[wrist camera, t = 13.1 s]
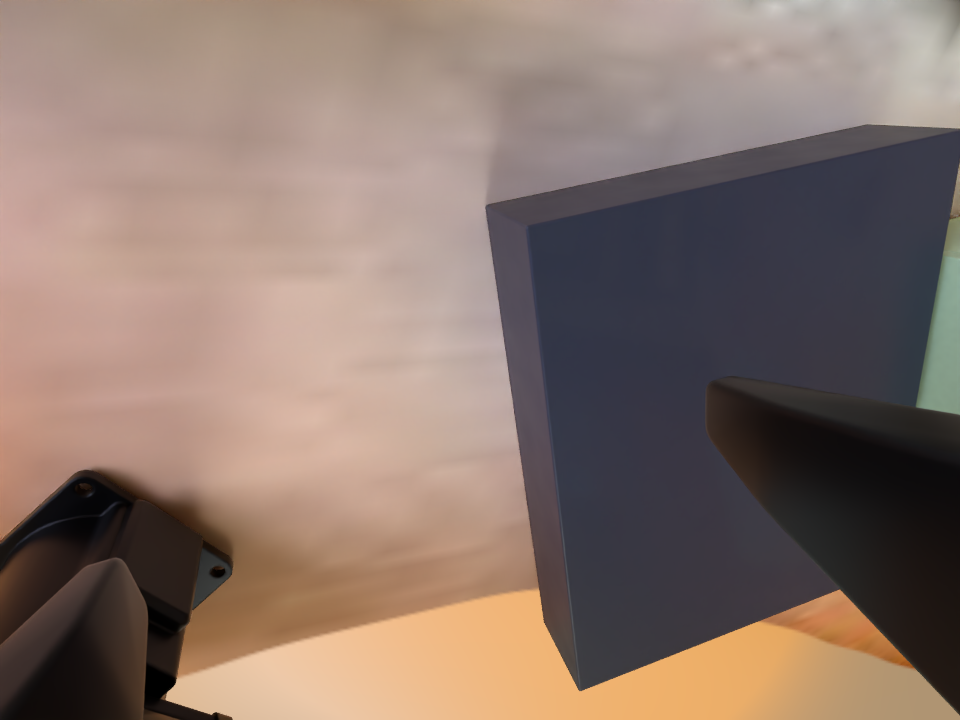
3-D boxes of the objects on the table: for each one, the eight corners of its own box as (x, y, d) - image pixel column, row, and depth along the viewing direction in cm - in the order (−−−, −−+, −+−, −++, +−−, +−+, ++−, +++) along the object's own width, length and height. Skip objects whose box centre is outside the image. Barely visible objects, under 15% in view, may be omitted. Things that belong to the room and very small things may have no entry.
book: (543, 622, 30) (579, 692, 26) (484, 204, 21) (525, 226, 18) (822, 520, 33) (887, 571, 29) (867, 124, 24) (967, 128, 21)
